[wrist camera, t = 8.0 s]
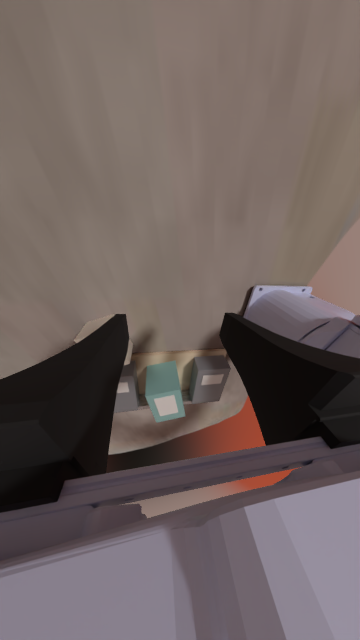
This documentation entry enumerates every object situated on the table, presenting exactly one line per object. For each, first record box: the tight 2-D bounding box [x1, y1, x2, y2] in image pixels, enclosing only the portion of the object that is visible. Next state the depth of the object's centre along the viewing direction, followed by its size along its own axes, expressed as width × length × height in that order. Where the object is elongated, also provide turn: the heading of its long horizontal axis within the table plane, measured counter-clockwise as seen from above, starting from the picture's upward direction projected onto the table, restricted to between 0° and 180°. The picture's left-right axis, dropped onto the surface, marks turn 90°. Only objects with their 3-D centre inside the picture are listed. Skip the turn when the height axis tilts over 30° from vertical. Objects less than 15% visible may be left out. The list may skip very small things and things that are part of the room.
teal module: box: [145, 361, 185, 422], centre depth 25 cm, size 5×8×6 cm, turn 7°
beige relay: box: [74, 314, 133, 365], centre depth 20 cm, size 4×6×4 cm, turn 15°
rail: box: [138, 390, 192, 410], centre depth 29 cm, size 21×1×2 cm, turn 86°
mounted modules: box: [114, 355, 231, 413], centre depth 26 cm, size 21×10×3 cm, turn 86°
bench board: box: [130, 349, 227, 394], centre depth 28 cm, size 22×12×1 cm, turn 86°
